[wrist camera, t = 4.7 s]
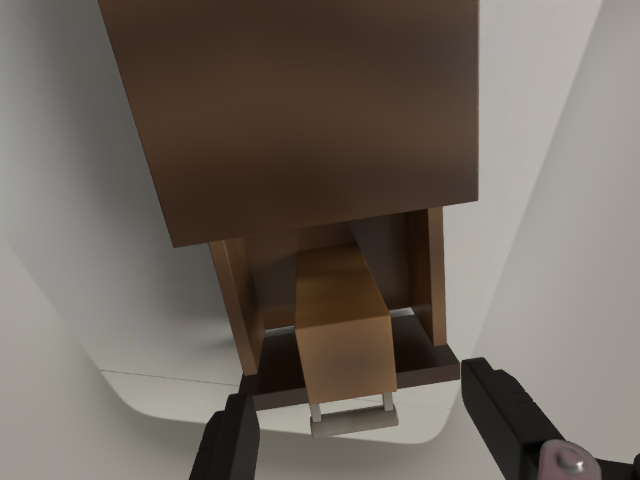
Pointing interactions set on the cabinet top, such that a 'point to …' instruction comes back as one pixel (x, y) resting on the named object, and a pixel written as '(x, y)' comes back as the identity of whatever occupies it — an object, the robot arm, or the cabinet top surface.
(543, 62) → the cabinet top surface
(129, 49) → the cabinet
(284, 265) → the drawer
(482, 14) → the cabinet top surface
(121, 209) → the cabinet top surface
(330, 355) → the small box
